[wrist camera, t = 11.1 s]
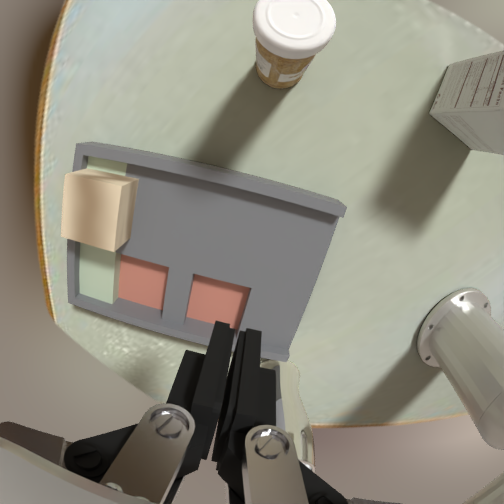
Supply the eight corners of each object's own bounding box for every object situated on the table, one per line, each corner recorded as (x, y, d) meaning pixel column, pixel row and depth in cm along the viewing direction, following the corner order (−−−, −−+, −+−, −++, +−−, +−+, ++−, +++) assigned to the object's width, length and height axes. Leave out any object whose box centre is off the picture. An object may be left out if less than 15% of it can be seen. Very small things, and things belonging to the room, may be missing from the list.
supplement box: (490, 102, 24) (566, 103, 13) (470, 151, 27) (549, 168, 15) (447, 62, 23) (523, 43, 12) (426, 112, 26) (505, 110, 14)
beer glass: (274, 346, 36) (279, 450, 22) (314, 371, 37) (332, 468, 23) (238, 377, 38) (230, 476, 24) (278, 399, 39) (282, 492, 25)
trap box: (338, 199, 30) (346, 207, 27) (284, 345, 36) (286, 362, 33) (92, 141, 28) (76, 143, 25) (80, 290, 34) (68, 302, 31)
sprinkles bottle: (299, 93, 26) (331, 60, 13) (250, 84, 26) (244, 42, 13) (307, 51, 24) (342, -6, 12) (260, 41, 24) (261, -24, 12)
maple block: (139, 179, 27) (121, 186, 23) (130, 237, 29) (114, 252, 26) (86, 168, 27) (65, 174, 23) (81, 224, 29) (61, 236, 25)
